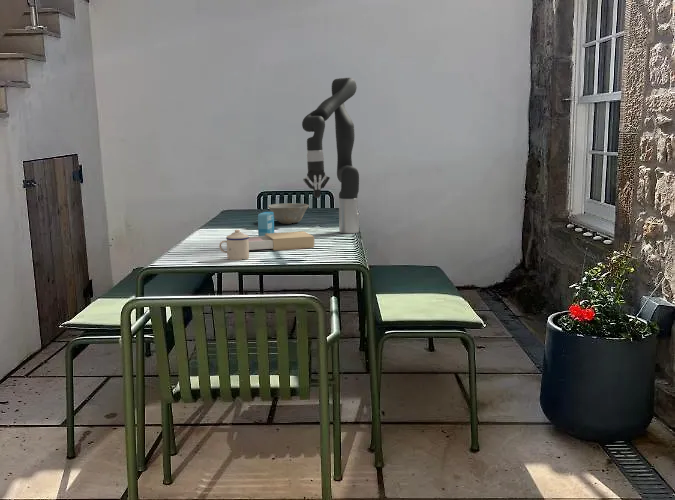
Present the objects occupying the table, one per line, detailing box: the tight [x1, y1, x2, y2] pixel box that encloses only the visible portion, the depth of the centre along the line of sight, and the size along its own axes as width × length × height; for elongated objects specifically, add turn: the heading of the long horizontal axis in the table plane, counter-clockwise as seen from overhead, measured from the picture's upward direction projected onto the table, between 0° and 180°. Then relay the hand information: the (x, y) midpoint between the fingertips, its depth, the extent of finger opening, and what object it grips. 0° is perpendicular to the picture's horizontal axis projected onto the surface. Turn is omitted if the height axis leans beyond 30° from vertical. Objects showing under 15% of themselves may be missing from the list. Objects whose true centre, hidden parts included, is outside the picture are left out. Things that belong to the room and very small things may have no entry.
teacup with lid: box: [218, 229, 250, 261], centre depth 265 cm, size 12×9×12 cm
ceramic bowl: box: [267, 202, 310, 225], centre depth 368 cm, size 22×23×10 cm
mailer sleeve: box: [265, 230, 315, 251], centre depth 293 cm, size 18×16×5 cm
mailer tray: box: [248, 235, 316, 251], centre depth 291 cm, size 32×14×4 cm, turn 109°
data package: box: [257, 211, 275, 236], centre depth 318 cm, size 12×4×12 cm, turn 170°
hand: (317, 197), depth 307 cm, fingers closed
